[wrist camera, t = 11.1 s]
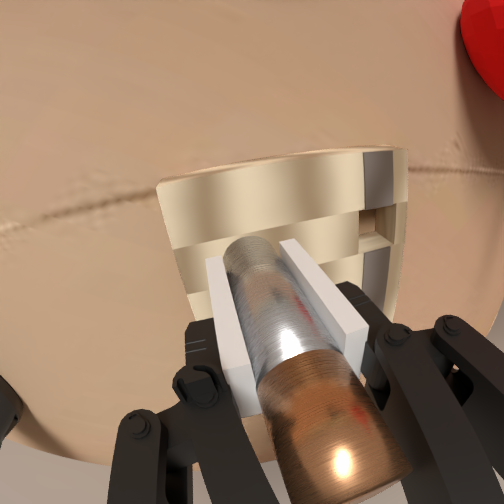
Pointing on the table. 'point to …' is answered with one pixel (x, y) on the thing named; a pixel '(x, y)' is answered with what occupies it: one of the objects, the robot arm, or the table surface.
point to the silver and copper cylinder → (308, 387)
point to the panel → (295, 215)
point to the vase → (485, 40)
